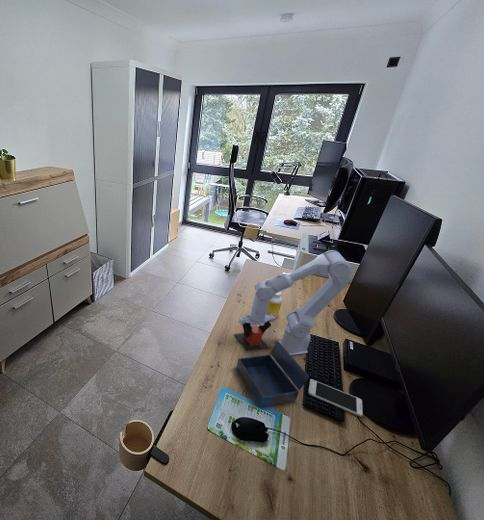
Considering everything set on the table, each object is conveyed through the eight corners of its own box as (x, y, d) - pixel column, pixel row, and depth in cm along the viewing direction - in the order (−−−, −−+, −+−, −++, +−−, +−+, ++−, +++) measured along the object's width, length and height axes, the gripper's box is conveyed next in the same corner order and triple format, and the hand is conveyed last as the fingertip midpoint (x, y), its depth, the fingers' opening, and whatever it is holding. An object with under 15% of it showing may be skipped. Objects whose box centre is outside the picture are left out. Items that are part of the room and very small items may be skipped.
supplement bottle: (279, 319, 136) (285, 297, 131) (264, 317, 138) (270, 295, 132) (275, 311, 142) (282, 289, 136) (261, 309, 143) (267, 287, 138)
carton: (266, 364, 112) (269, 354, 109) (294, 402, 97) (298, 391, 95) (236, 368, 110) (238, 358, 107) (259, 408, 95) (263, 397, 93)
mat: (255, 332, 128) (256, 331, 128) (268, 348, 119) (268, 347, 119) (234, 335, 126) (235, 334, 126) (246, 351, 118) (246, 350, 117)
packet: (252, 335, 126) (255, 322, 122) (259, 345, 120) (263, 332, 117) (243, 336, 125) (246, 323, 122) (250, 346, 120) (254, 333, 117)
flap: (269, 353, 109) (270, 353, 109) (299, 390, 94) (299, 390, 94) (277, 340, 106) (278, 340, 107) (308, 376, 92) (309, 376, 92)
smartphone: (309, 380, 105) (310, 378, 105) (361, 401, 98) (362, 399, 97) (307, 394, 100) (308, 392, 99) (361, 417, 92) (362, 415, 92)
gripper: (247, 317, 110) (241, 344, 117) (281, 313, 113) (274, 340, 119) (238, 306, 117) (233, 332, 123) (271, 303, 119) (264, 328, 125)
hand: (252, 335), depth 121 cm, fingers open, 6 cm apart
